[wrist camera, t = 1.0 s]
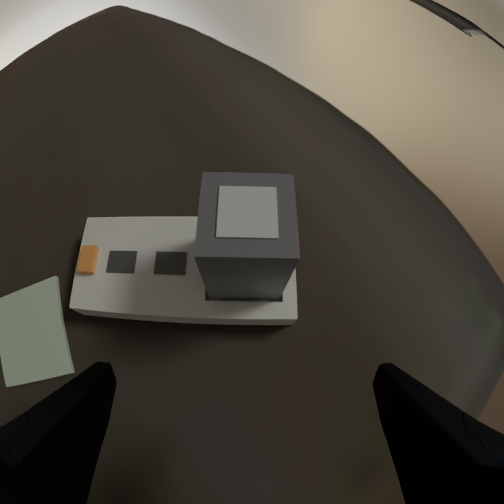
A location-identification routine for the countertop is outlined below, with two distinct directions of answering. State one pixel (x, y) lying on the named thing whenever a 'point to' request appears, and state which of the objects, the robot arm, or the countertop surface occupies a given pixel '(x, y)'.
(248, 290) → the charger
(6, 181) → the countertop surface
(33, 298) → the mat
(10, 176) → the countertop surface
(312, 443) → the countertop surface
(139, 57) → the countertop surface
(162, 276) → the power strip
